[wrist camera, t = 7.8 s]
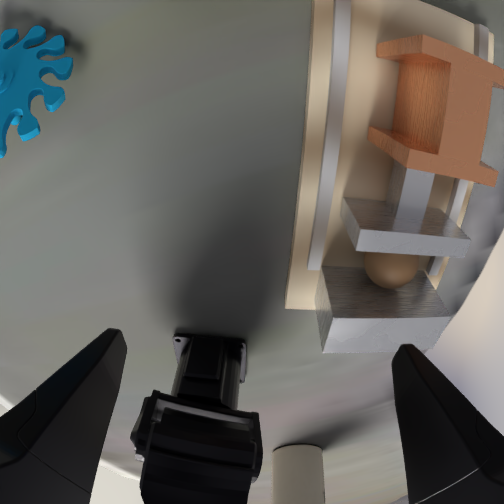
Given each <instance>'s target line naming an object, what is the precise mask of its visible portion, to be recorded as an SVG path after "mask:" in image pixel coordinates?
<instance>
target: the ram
mask: <svg viewBox="0 0 504 504" xmlns="http://www.w3.org/2000/svg"><path fill="white" fill-rule="evenodd" d="M376 57H378V58H382V59H386V60H390V61H394V62H398V63H399V72H398V83H397V92H396V101H395V109H394V117H393V124H392V130H391V129H385V128H380V127H374V126H369V129H368V136H367V140H369V141H370V142H372V143H373V144H375V145H376V146H377V147H379V148H380V149H382V150H383V151H384V152H386V153H387V154H388V155H390V156H391V157H392V158H394V164H393V169H392V175H391V180H390V184H389V189H388V194H387V198H386V201H377V200H369V199H359V198H350V197H343V199H342V205H341V211H340V217H341V219H342V221H343V224H344V226H345V228H346V230H347V232H348V235H349V237H350V239H351V241H352V243H353V246H354V248H355V250H356V251H366V252H381V253H397V254H412V255H427V256H441V257H456V258H464V257H465V255H466V252H467V250H468V247H469V245H470V242H471V239H470V238H469V237H468V236H467V235H466V234H465V233H464V232H463V231H462V230H461V229H460V228H459V226H458V225H457V224H456V223H455V222H454V221H453V220H452V219H451V218H450V217H449V216H448V215H447V214H446V213H444V212H443V211H442V210H441V209H438V208H431V207H427V204H428V200H429V196H430V192H431V188H432V184H433V180H434V176H435V174H440V175H445V176H450V177H454V178H459V179H463V180H468V181H472V182H476V183H480V184H484V185H488V186H492V187H495V183H496V180H497V176H498V171H497V170H495V169H494V168H492V167H490V166H488V165H487V164H485V163H483V162H482V161H480V159H481V154H482V150H483V145H484V140H485V134H486V129H487V123H488V116H489V109H490V102H491V94H492V87H496V88H500V89H504V70H503V69H501V68H499V67H498V66H496V65H494V64H492V63H490V62H488V61H486V60H484V59H482V58H480V57H478V56H475V55H473V54H471V53H469V52H467V51H464V50H462V49H460V48H457V47H455V46H453V45H450V44H448V43H445V42H443V41H440V40H437V39H435V38H432V37H429V36H426V35H423V34H422V35H416V36H410V37H405V38H400V39H396V40H391V41H386V42H382V43H378V44H377V48H376Z"/></svg>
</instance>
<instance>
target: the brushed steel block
mask: <svg viewBox="0 0 504 504" xmlns="http://www.w3.org/2000/svg"><path fill="white" fill-rule="evenodd" d="M314 302H315V308H316V314H317V320H318V326H319V333H320V339H321V346H322V353H367V352H391V351H397V350H398V348H399V346H400V345H401V344H413V345H415V346H416V347H417V348H418V349H419V350H422V349H432V348H433V347H434V345H435V344H436V342H437V340H438V338H439V337H440V335H441V334H442V332H443V330H444V328H445V327H446V325H447V323H448V321H449V319H450V317H451V316H450V314H449V312H448V310H447V309H446V307H445V305H444V303H443V302H442V300H441V298H440V297H439V295H438V293H437V292H436V290H435V288H434V287H433V285H432V283H431V282H430V280H429V278H428V277H427V275H426V274H425V272H424V270H417V272H416V274H415V276H414V277H413V279H412V280H411V281H410V282H409V283H407V284H406V285H404V286H402V287H400V288H396V289H387V288H383V287H381V286H379V285H377V284H375V283H374V282H373V281H372V280H371V279H370V277H369V276H368V274H367V272H366V270H365V268H363V267H343V266H324V265H321V269H320V274H319V279H318V284H317V288H316V293H315V298H314Z"/></svg>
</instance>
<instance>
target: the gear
mask: <svg viewBox="0 0 504 504" xmlns="http://www.w3.org/2000/svg"><path fill="white" fill-rule="evenodd" d="M18 39H19V35H18V30H17V29H8V30H5V31H4V32H3V33H2V34H1V41H0V158H3V157H4V156H5V154H6V150H7V146H6V134H7V130H8V128H9V126H10V124H12V125H17V124H18V123H19V122H20V123H19V125H18V128H17V131H18V134H19V135H20V137H21V139H22V140H23V141H27V140H30V139H32V138H33V137H35V136H37V135H38V134H40V126H39V124H38V121H37V119H36V118H35V117H34V116H33V115H32V114H31V113H30V104H31V100H32V99H33V98H34V97H35V96H37V95H43V96H44V102H45V106H46V109H47V110H48V111H50V112H54V111H55V110H56V109H58V108H59V107H60V105H61V104H62V103H63V102H64V100H65V92H64V90H63V89H62V88H61V87H54V86H50V85H47V84H45V83H44V82H43V81H42V80H41V77H42V76H43V75H45V74H47V73H53V74H54V75H55V76H56V78H57V79H59V80H67V79H68V78H69V77H70V75H71V72H72V69H73V58H71V57H64V58H61V59H58V60H53V61H45V60H40V58H41V57H42V56H45V55H50V56H60V55H62V54H63V53H65V44H64V38H63V36H62V35H57V36H55V37H53V38H52V39H50V40H49V41H48V42H46V43H44V44H42V45H40V46H37V47H34V48H30V49H27V48H28V47H30V46H32V45H36V44H39V43H41V42H43V41H44V40H45V39H46V31H45V29H44V28H43V27H41V26H38V25H36V26H34V27H32V28H31V29H30V30H29V32H28V34H27V35H26V36H25V37H24V38H23V39H22V40H21V41H20V42H19V43H17V44H16V45H15V46H13V47H12V48H10V49H8V48H9V47H10V46H12V45H13V44H15V43H16V42H17V40H18ZM21 115H23V117H22V116H21Z"/></svg>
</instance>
